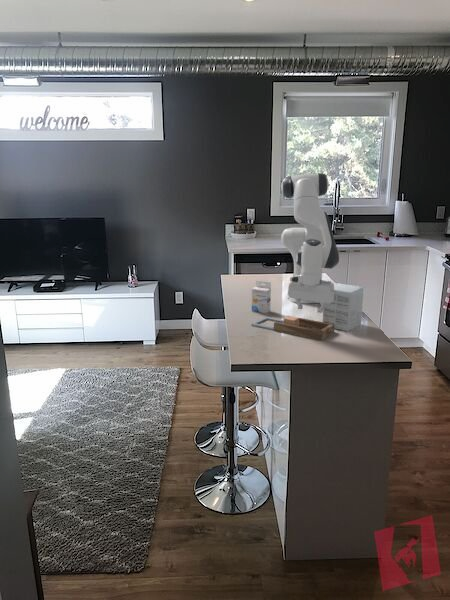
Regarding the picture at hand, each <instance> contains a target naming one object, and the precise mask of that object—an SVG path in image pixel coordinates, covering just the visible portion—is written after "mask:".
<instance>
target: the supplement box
mask: <svg viewBox="0 0 450 600" xmlns="http://www.w3.org/2000/svg"><path fill="white" fill-rule="evenodd" d="M333 284H334V301H333V302H332V303H330V304H327V303H326V304H325V306H324V307H323V312H322V322H325V323H330V324H335V325H334V329H337V330H343V331H347V332H349V331H351V330H352V329H355V328H356V327H358V326H359V325H361V324H362V317H363V316H362V315H363V300H364V286H360V285H351V284H344V283H339V282H337V283H333Z"/></svg>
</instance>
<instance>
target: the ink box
mask: <svg viewBox="0 0 450 600" xmlns="http://www.w3.org/2000/svg"><path fill="white" fill-rule="evenodd" d="M271 288H272V287H271V281H263V280H262V281H261V280H256V281H255V286H254V287H252V288H251V312H257V313H263V314H267V313H269V312H270V311H271V304H272V302H271V298H272V297H271V293H272V291H271V290H272V289H271Z"/></svg>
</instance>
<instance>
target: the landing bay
mask: <svg viewBox="0 0 450 600" xmlns="http://www.w3.org/2000/svg"><path fill="white" fill-rule="evenodd" d="M265 321H271V322H274V323H275V322H279V323H284V319H278V318H273V317H268V316H266V317H264V318H262V319H259V320H258V321H255V322H253V323H251V326H252V327H257V328H260V329H266V330H271V331H275V330H274V326H269V325H265V324H261V323H263V322H265Z"/></svg>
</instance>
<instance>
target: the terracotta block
mask: <svg viewBox="0 0 450 600" xmlns="http://www.w3.org/2000/svg"><path fill="white" fill-rule="evenodd" d="M287 316H288V317H287ZM287 316H286V317H284V318H283V320H284V324H289V325H294V326H299V318H300V317H299V316H292V315H287ZM299 327H300V326H299Z"/></svg>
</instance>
